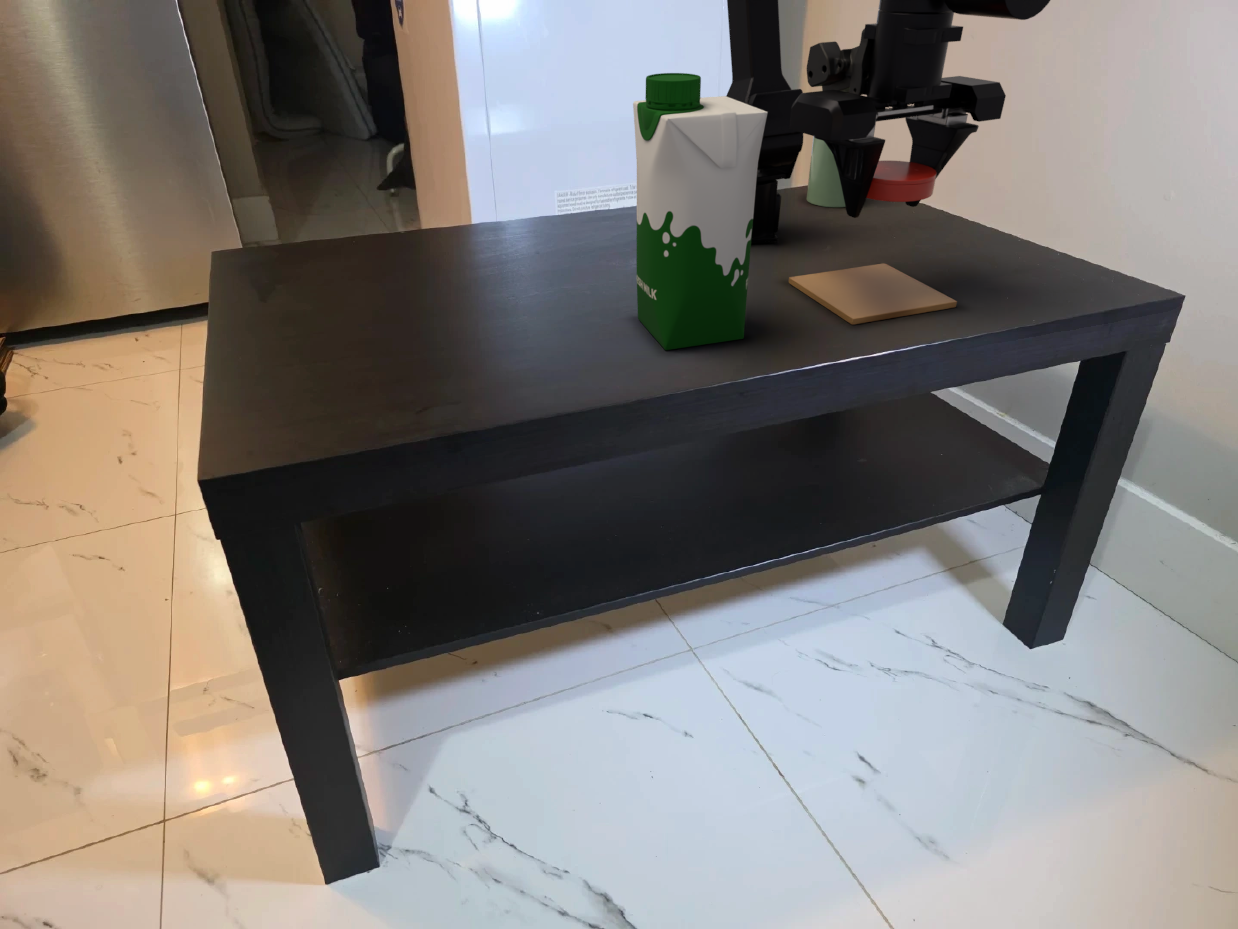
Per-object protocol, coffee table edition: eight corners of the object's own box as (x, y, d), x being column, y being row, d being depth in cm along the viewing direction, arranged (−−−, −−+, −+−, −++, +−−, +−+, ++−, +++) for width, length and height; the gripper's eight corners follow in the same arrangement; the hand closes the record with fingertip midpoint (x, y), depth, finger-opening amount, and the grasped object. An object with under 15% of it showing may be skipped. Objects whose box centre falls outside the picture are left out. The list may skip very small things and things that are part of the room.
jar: (858, 208, 100) (870, 126, 95) (805, 205, 101) (814, 125, 96) (857, 194, 106) (868, 116, 100) (806, 192, 107) (815, 115, 102)
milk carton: (624, 316, 73) (623, 70, 62) (717, 304, 75) (732, 64, 64) (658, 357, 66) (663, 87, 55) (760, 341, 68) (784, 79, 57)
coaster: (852, 325, 71) (853, 318, 70) (788, 282, 79) (788, 276, 79) (956, 307, 74) (957, 301, 73) (883, 268, 82) (884, 262, 82)
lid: (895, 176, 74) (898, 156, 74) (950, 194, 69) (955, 173, 68) (835, 187, 72) (837, 166, 71) (888, 206, 67) (891, 184, 66)
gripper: (926, -1, 73) (896, 177, 82) (757, 9, 66) (743, 203, 75) (1030, 7, 65) (984, 204, 74) (850, 19, 58) (822, 236, 66)
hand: (882, 210), depth 72 cm, fingers closed on lid, 6 cm apart
